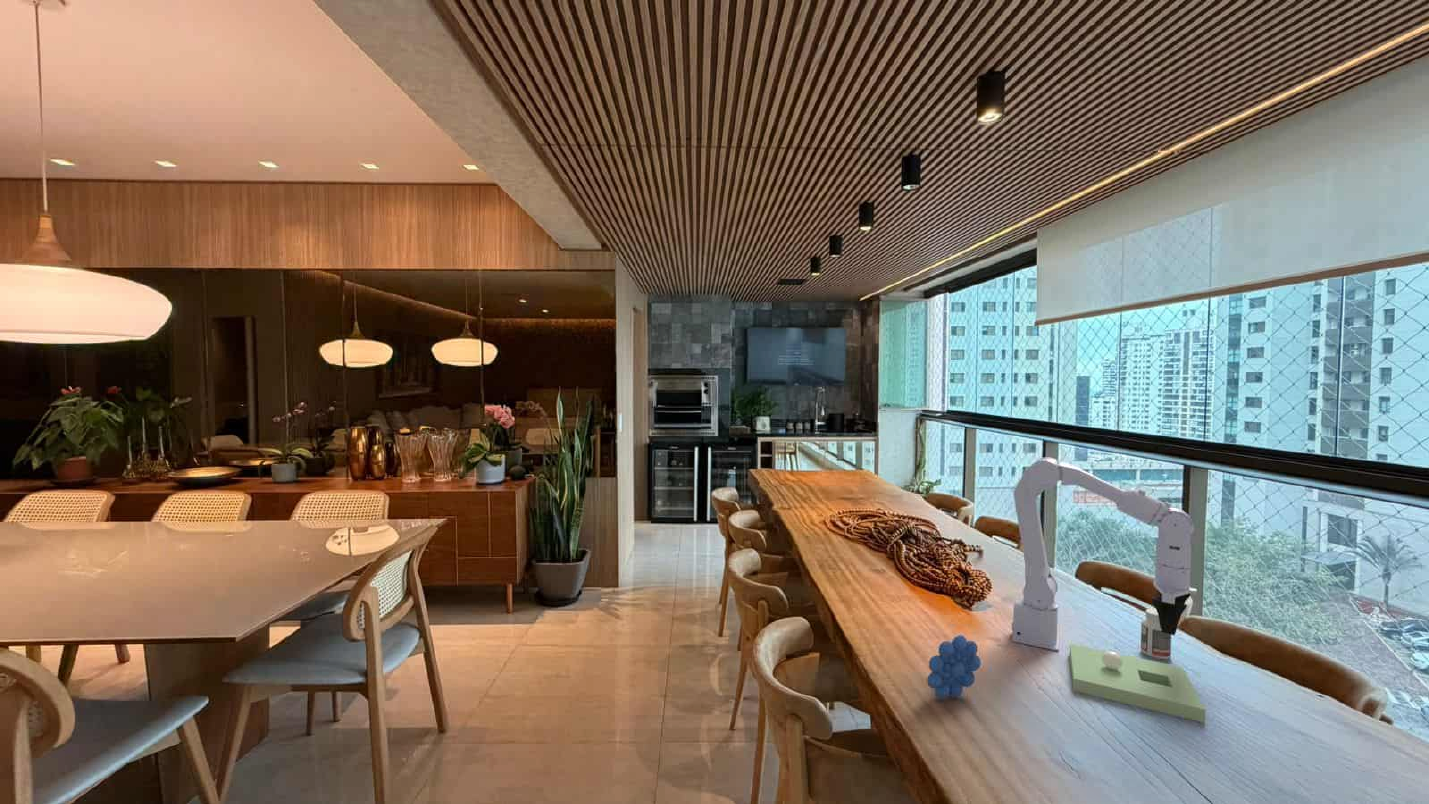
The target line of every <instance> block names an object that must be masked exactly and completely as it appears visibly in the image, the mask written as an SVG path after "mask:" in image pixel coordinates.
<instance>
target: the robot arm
mask: <svg viewBox="0 0 1429 804" xmlns="http://www.w3.org/2000/svg"><path fill="white" fill-rule="evenodd" d="M1059 481H1061V482H1060V486H1061V487H1062V486H1063V487H1064V486H1078V487H1080V488H1082V489H1085V490H1087V491H1089V492H1091V493H1094V494H1096V495H1098V496H1100V497H1103V498H1105V499H1107V500H1109V501H1111V502H1113V503H1115V505H1116V508H1117V510H1118V511H1119V512H1121V513H1123V514H1125V515H1126V516H1129V517H1131V518H1134V519H1136V520H1138V521H1140V522H1142V523H1144V524H1146V525H1147V526H1150V527H1157V529H1158V530H1157V539H1156V541H1155V542H1156V543H1155V564H1154V565H1155V569H1154V581H1153V583H1152V584H1153V587H1154V588H1155V589H1156V590H1157V592H1158V595H1159V596H1155V595H1152V597H1151V602H1152V604H1153V605H1154V607H1155V610H1157V613H1158V616H1159V622H1160V627H1161V630H1162V632H1163V633H1167V634H1171V636H1175V635H1176V633H1177V630H1178V627H1179V626H1178V625H1179V622H1180V620H1181V616H1182V614H1183V612H1184V611H1186V609H1187V607H1188V604H1186V602H1187V600H1188V599H1189V597H1190V596H1191V594H1192V595H1196V594H1197V593H1198V589H1197V588H1193V587H1190V584H1191V583H1190V579H1191V564H1192V563H1191V560H1192V556H1191V555H1192V554H1191V553H1192V545H1190V544H1191V541H1192V538H1191V535H1193V533H1194V531H1195V527H1194V523H1193V521H1192V519H1191V517H1190V515H1189V514H1188V513H1187V512H1186V511H1184V510H1183V509H1181V508H1180V507H1179V506H1175V505H1172V503H1171V502H1168V501H1165V502H1163V501H1161V500H1160V499H1157V498H1155V497H1152V496H1150V495H1148V494H1146V493H1147V492H1146V490H1143V489H1142V488H1139V489H1136V488H1133V487H1131V488H1127V489H1126V488H1125V489H1121V488H1119V487H1117V486H1115V485H1113V484H1111V483H1109V482H1107V481H1105V480H1103V479H1102V478H1100V477H1097V476H1096V475H1093V474H1091V473H1089V472H1088V471H1086V470H1083V469H1082V468H1079V467H1077V466H1075V465H1072V464H1070V463H1067V462H1064V461H1059V460H1058V459H1056V458H1054V457H1049V456H1045V457H1044V456H1043V457H1040V458H1039V459H1037V460H1036V461H1035V462H1034V463H1032V464H1031V465H1030V466H1029V467H1027V468H1026V469H1025V470H1024V472H1023V474H1022V476H1021V477H1020V479H1019V480H1018V483H1017V484H1016V486H1015V488H1014V489H1013V499H1014V505H1015V511H1016V516H1017V523H1018V529H1019V535H1020V541H1021V548H1022V552H1023V558H1024V566H1025V569H1024V578H1025V585H1024V587H1023V591H1022V594H1023V598H1022V600H1020V599H1019V600H1017V599H1014V600H1013V613H1012V614H1013V616H1012V617H1013V619H1012V622H1011V631H1012V642H1016V643H1019V644H1024V645H1029V646H1033V647H1037V648H1042V649H1048V650H1052V651H1056V652H1059V651H1060V641H1059V636H1058V615H1059V614H1058V612H1059V609H1058V608H1059V605H1058V603H1057V602H1056V601H1055V596H1056V593H1057V592H1058V588H1059V586H1058V583H1057V580H1056V579H1055V578H1054V576H1053V575H1052V572H1051V567H1050V565H1049V563H1048V557H1047V552H1046V551H1047V550H1046V545H1045V540H1044V539H1045V538H1044V535H1043V528H1042V522H1041V515H1040V510H1039V505H1038V499H1037V498H1038V497H1039V496H1040V495H1041V494H1042V493H1043V492H1044V491H1045V490H1048V489H1049V488H1052V487H1053V486H1055V485H1056V484H1057V483H1058V482H1059Z"/></svg>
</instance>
